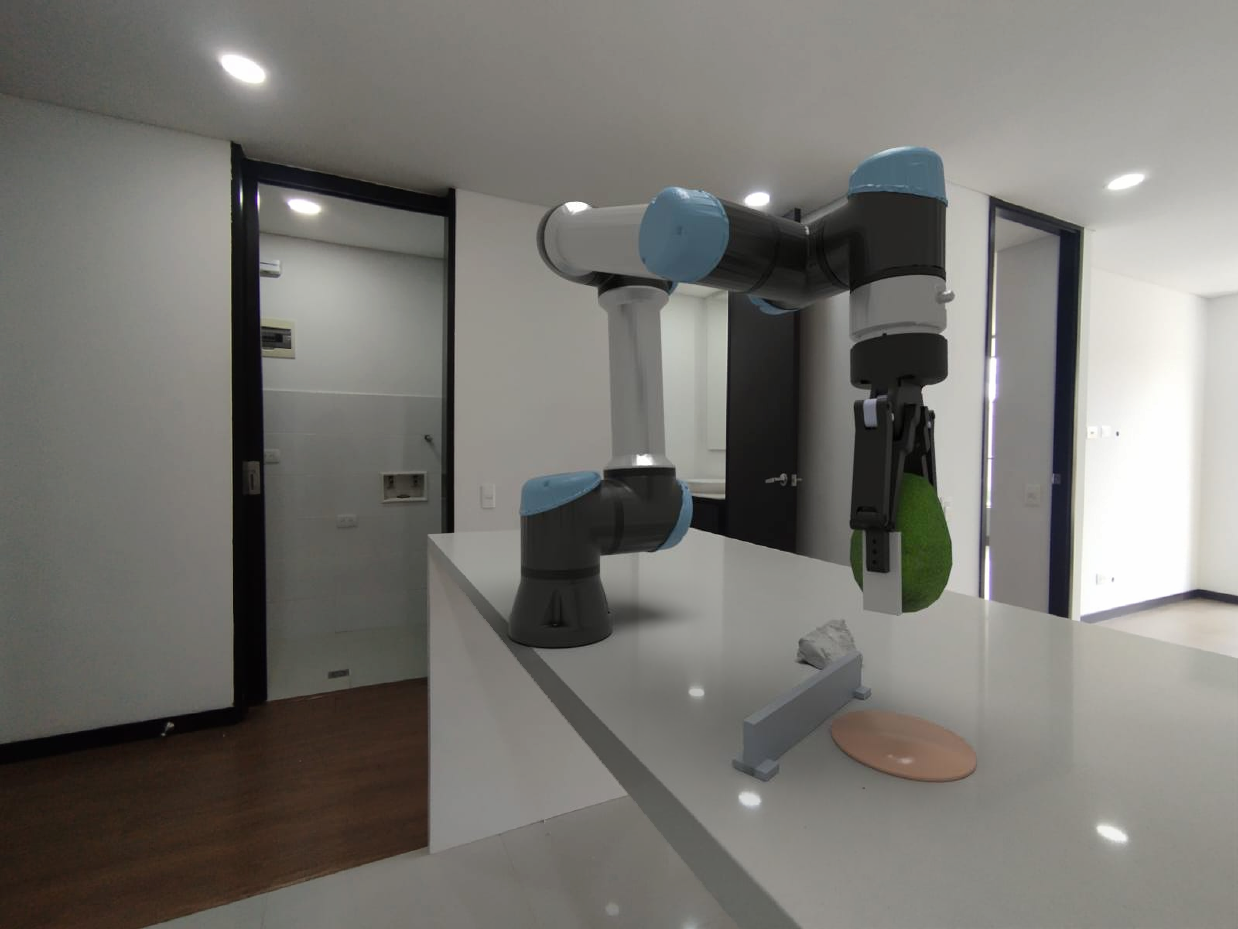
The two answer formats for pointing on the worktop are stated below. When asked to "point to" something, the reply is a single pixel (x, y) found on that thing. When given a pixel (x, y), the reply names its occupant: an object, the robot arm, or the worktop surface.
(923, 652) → the worktop surface
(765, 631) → the worktop surface
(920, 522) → the fruit
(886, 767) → the saucer
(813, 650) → the stone
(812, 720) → the acrylic wall
